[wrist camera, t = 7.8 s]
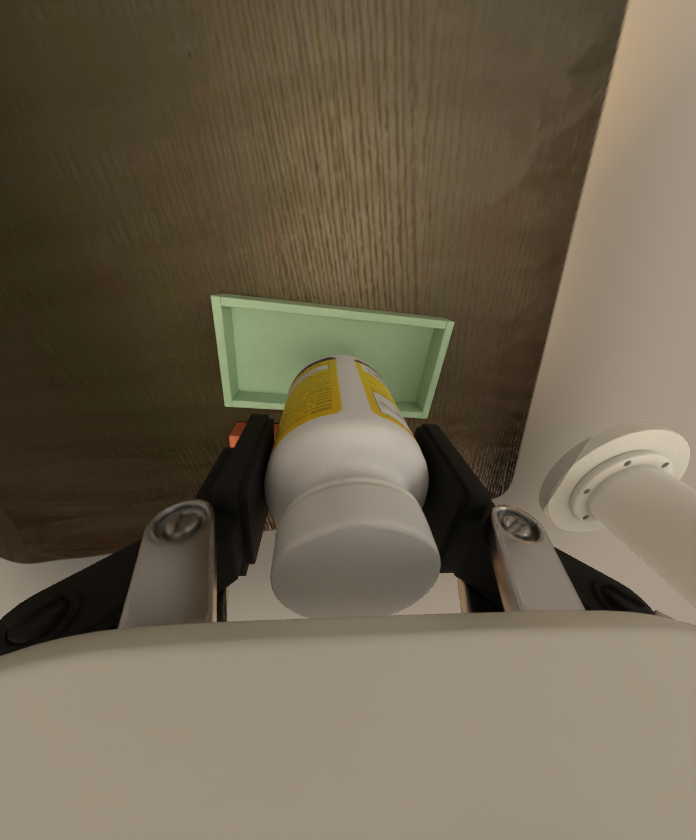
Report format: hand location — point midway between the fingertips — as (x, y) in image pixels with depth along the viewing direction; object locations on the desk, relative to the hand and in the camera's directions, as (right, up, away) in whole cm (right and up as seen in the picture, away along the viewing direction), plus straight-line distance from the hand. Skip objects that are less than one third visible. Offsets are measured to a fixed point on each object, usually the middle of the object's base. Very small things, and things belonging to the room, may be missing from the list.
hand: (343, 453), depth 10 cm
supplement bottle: (0, +2, +4) cm, 5 cm away
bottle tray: (-1, +7, +12) cm, 14 cm away
